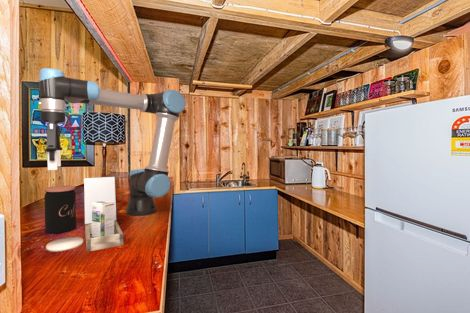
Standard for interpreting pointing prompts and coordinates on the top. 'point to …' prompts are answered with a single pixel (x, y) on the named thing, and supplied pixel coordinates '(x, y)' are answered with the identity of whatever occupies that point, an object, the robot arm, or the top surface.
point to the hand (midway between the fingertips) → (54, 168)
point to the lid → (98, 194)
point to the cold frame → (103, 238)
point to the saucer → (64, 244)
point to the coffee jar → (60, 209)
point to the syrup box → (102, 218)
